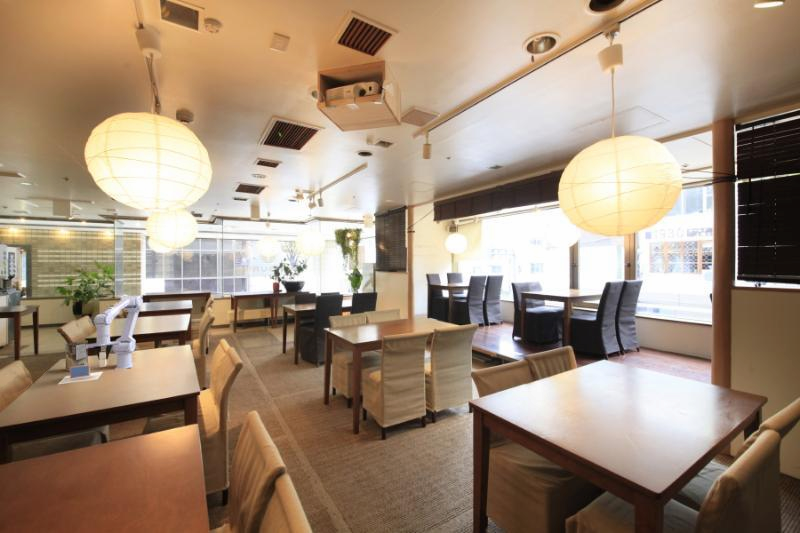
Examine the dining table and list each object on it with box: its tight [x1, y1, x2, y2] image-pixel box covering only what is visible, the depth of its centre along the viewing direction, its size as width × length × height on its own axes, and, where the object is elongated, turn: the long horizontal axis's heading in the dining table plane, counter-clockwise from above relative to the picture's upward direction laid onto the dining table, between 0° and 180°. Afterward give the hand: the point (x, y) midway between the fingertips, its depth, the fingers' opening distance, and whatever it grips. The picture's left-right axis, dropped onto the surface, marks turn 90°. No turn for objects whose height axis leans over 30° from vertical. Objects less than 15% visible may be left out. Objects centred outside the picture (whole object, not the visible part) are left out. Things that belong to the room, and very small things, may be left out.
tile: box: [69, 364, 91, 378], centre depth 189 cm, size 2×8×6 cm, turn 122°
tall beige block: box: [98, 349, 108, 368], centre depth 190 cm, size 6×2×8 cm, turn 33°
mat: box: [57, 371, 103, 385], centre depth 187 cm, size 14×16×1 cm
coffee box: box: [64, 341, 89, 372], centre depth 201 cm, size 9×6×16 cm
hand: (103, 359), depth 190 cm, fingers closed on tall beige block, 2 cm apart
